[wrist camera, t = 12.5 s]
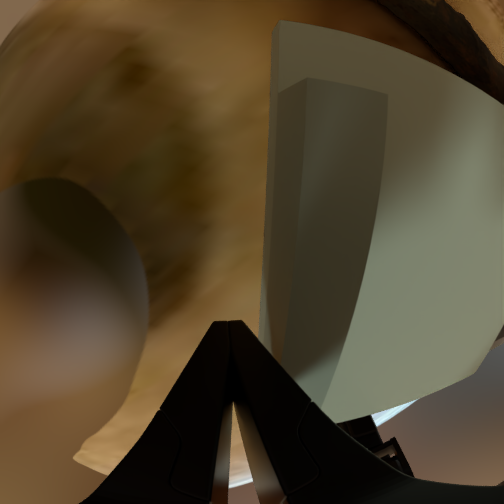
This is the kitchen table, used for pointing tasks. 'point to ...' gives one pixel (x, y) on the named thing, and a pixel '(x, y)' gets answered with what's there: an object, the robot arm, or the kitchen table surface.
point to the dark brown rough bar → (453, 42)
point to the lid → (378, 222)
